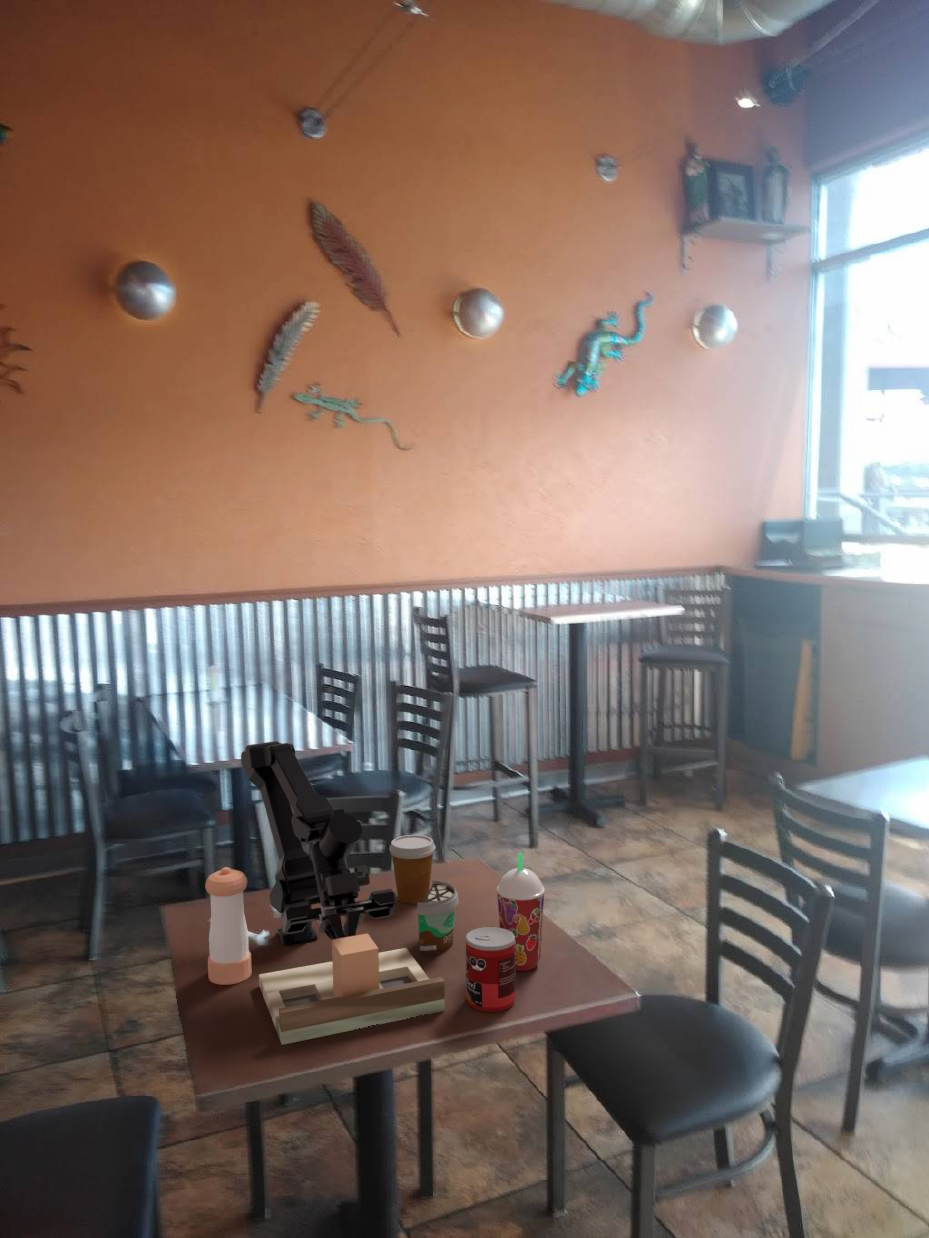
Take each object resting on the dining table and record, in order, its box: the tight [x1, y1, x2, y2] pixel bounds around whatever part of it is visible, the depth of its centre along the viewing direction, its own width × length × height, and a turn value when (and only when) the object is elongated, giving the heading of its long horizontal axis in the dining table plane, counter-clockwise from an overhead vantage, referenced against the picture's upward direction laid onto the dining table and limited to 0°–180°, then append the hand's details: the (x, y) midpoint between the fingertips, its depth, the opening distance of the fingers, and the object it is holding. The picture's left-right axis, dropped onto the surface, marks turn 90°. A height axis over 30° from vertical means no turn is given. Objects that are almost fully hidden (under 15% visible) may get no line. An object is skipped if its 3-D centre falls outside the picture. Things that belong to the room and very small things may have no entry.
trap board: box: [258, 947, 446, 1046], centre depth 159 cm, size 20×26×5 cm
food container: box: [416, 879, 460, 956], centre depth 179 cm, size 12×6×10 cm, turn 168°
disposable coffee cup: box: [388, 834, 436, 905], centre depth 201 cm, size 10×10×12 cm
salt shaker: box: [204, 866, 252, 986], centre depth 167 cm, size 7×7×19 cm
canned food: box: [465, 926, 516, 1013], centre depth 157 cm, size 8×8×11 cm
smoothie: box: [496, 852, 546, 972], centre depth 170 cm, size 8×8×20 cm
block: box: [331, 932, 380, 997], centre depth 155 cm, size 6×6×9 cm
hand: (350, 960), depth 158 cm, fingers closed, pressing on block
